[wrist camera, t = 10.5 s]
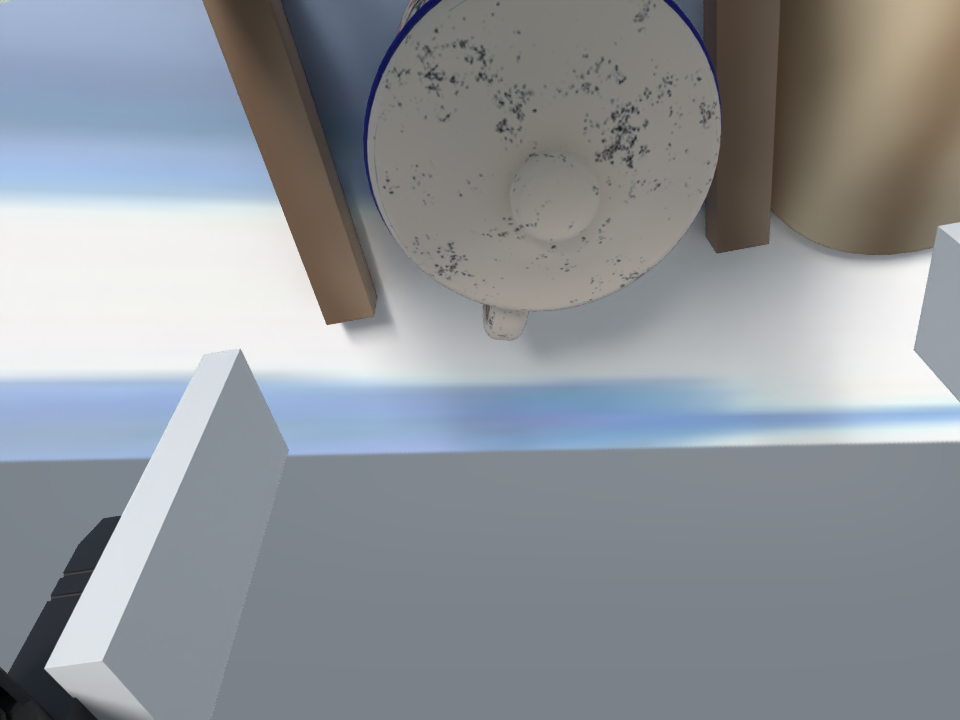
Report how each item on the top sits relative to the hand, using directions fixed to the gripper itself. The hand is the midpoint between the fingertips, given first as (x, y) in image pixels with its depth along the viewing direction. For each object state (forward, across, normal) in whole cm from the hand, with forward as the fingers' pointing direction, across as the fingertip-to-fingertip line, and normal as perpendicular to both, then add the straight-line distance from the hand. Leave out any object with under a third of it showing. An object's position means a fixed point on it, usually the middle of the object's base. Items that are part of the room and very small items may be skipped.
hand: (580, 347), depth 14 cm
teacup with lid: (+15, 0, 0) cm, 15 cm away
